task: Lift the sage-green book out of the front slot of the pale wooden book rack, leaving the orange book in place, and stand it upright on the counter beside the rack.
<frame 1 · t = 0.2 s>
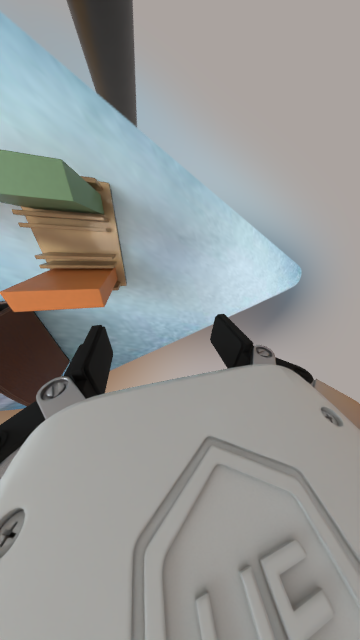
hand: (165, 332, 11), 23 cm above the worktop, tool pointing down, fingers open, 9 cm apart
orange book: (89, 273, 27), point 1 cm above the worktop, touching book rack
green book: (67, 201, 21), point 1 cm above the worktop, touching book rack
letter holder: (28, 337, 32), on the worktop
book rack: (82, 241, 25), on the worktop
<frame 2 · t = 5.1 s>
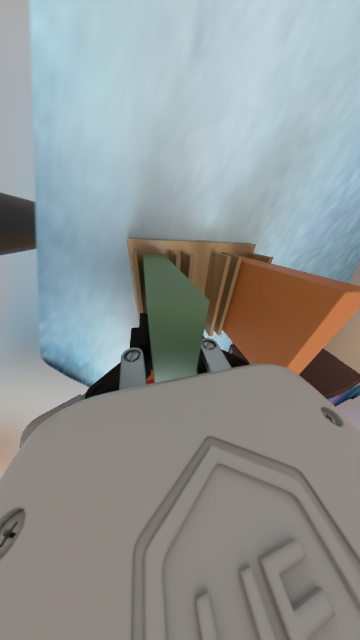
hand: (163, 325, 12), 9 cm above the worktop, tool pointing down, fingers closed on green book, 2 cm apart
orange book: (226, 290, 21), point 1 cm above the worktop, touching book rack
green book: (156, 294, 18), point 1 cm above the worktop, touching book rack, gripper
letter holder: (259, 351, 35), on the worktop
book rack: (191, 289, 21), on the worktop
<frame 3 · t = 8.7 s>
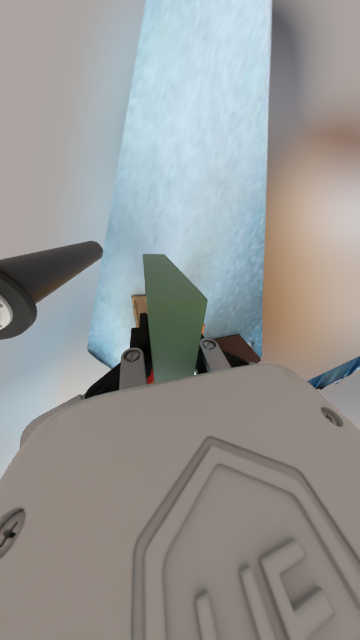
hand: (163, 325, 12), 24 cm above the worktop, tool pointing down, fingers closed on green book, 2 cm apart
green book: (155, 293, 19), point 17 cm above the worktop, touching gripper
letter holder: (214, 346, 55), on the worktop
book rack: (163, 314, 40), on the worktop
when the fingers open (8 cm above the worktop, at t = 12.6 s): green book stays where it is, on the worktop.
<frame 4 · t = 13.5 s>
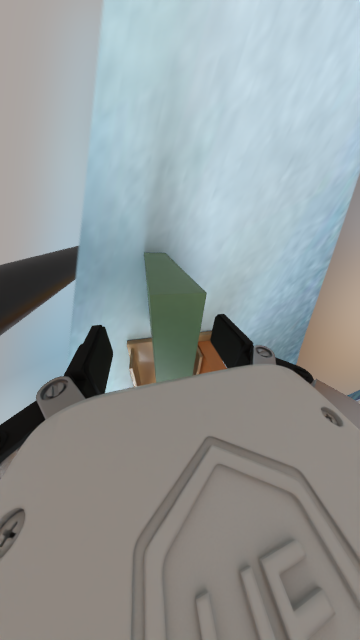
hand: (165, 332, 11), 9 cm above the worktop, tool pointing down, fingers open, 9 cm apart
orange book: (200, 358, 28), point 1 cm above the worktop, touching book rack
green book: (156, 291, 19), on the worktop
book rack: (173, 358, 28), on the worktop
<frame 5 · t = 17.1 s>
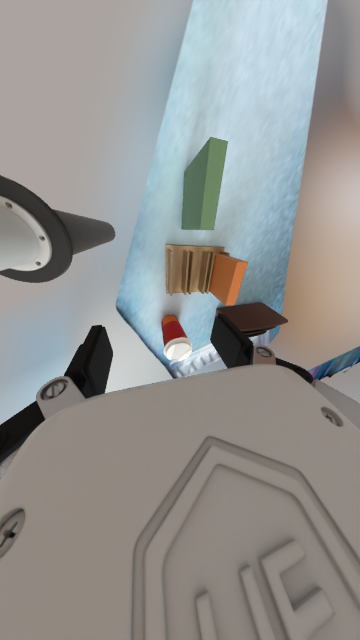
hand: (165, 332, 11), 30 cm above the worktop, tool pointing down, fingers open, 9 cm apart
orange book: (211, 271, 40), point 1 cm above the worktop, touching book rack
green book: (188, 203, 31), on the worktop
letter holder: (236, 315, 55), on the worktop
book rack: (193, 270, 40), on the worktop
coffee cup: (169, 321, 48), on the worktop
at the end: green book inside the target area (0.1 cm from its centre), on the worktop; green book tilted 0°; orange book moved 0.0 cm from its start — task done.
